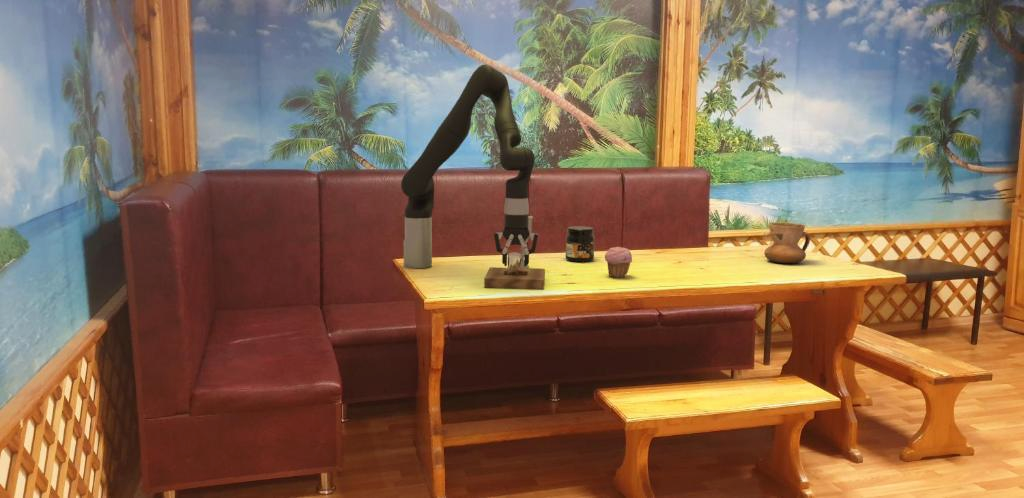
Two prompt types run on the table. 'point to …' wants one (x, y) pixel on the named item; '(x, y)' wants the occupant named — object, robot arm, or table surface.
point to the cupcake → (618, 261)
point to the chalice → (526, 242)
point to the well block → (515, 278)
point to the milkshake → (514, 263)
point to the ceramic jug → (786, 242)
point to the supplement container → (580, 244)
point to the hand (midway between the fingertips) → (515, 265)
